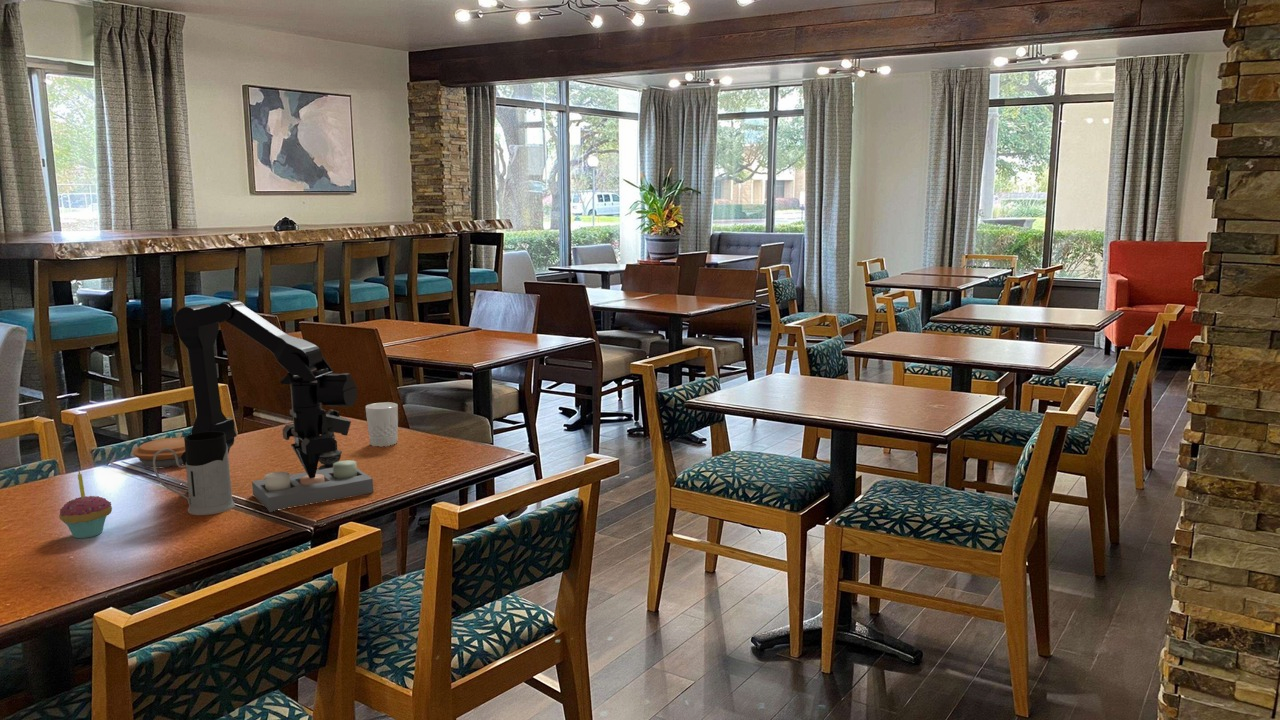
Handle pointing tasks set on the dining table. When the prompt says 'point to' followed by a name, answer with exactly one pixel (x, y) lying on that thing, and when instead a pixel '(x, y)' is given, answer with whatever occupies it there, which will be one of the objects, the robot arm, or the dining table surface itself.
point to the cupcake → (85, 513)
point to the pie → (164, 457)
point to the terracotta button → (311, 479)
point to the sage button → (344, 469)
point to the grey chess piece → (329, 456)
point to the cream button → (277, 481)
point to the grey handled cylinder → (205, 473)
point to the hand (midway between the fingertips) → (312, 477)
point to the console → (312, 490)
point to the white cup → (382, 423)
